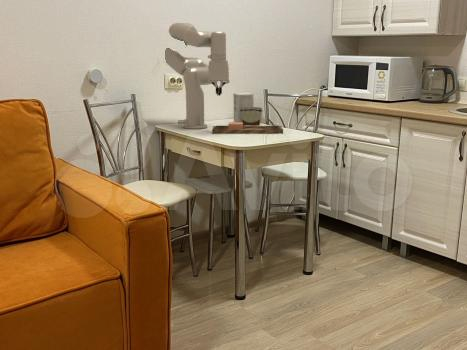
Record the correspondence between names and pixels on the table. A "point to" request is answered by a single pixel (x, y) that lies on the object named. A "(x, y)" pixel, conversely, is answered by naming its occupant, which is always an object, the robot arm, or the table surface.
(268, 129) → the track
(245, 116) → the food container
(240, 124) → the block
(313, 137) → the table surface
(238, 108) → the supplement box
